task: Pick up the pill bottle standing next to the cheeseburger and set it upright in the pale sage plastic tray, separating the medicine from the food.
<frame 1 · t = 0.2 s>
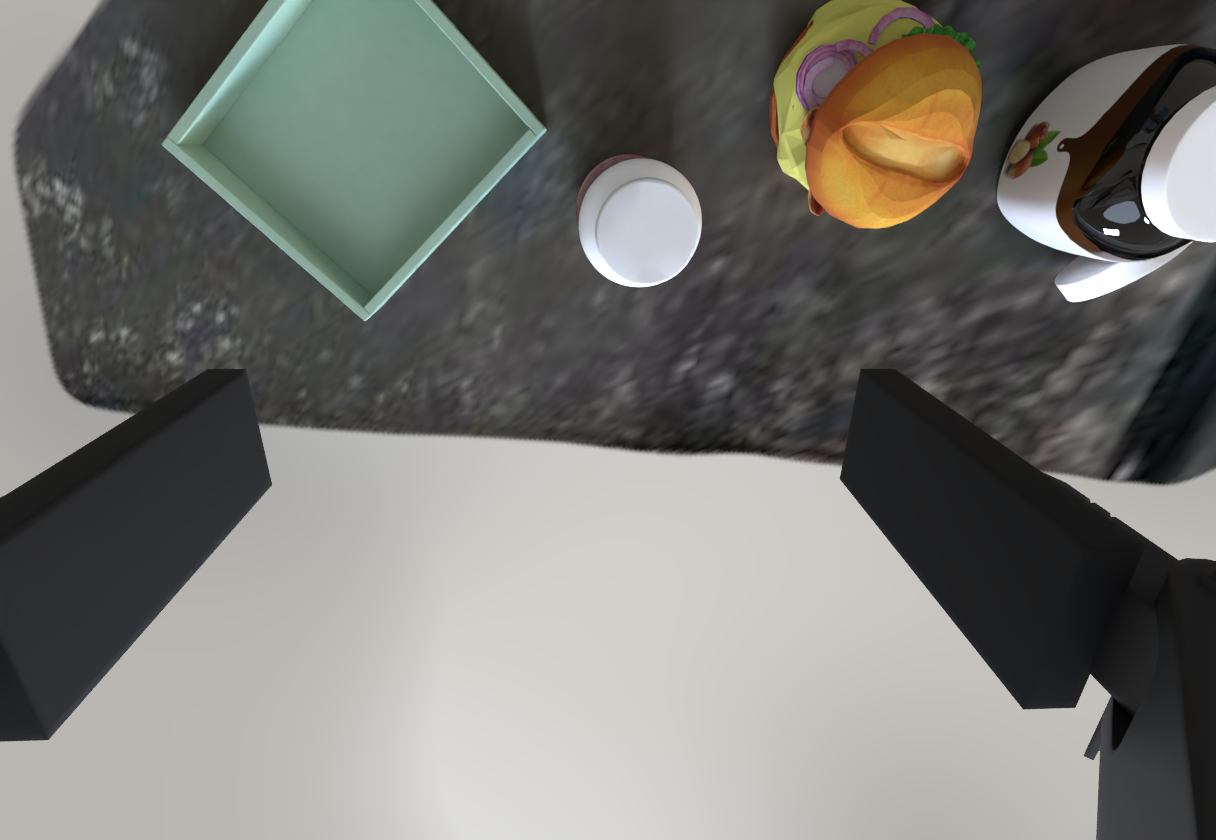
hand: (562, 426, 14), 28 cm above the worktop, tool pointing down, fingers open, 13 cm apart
cheeseburger: (845, 114, 37), on the worktop
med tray: (371, 136, 36), on the worktop
spread jar: (1066, 185, 39), on the worktop
pill bottle: (626, 208, 39), on the worktop
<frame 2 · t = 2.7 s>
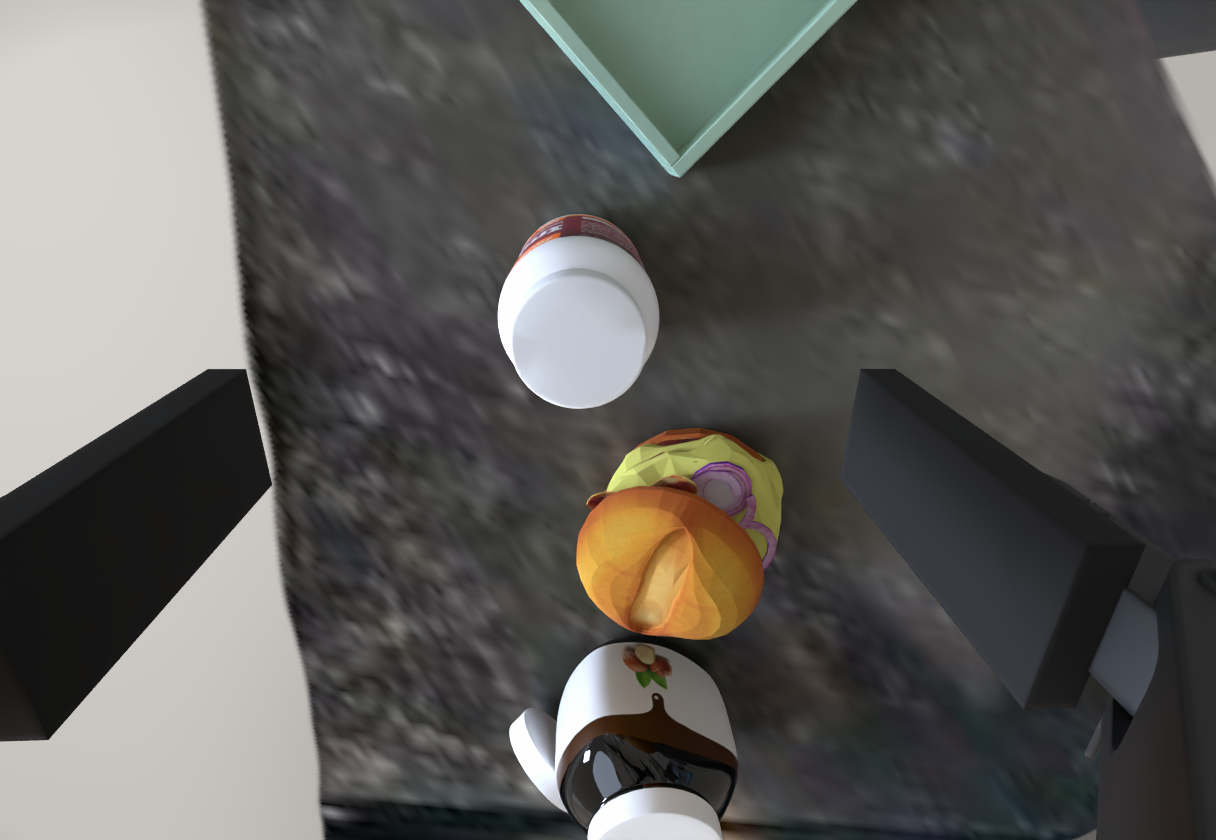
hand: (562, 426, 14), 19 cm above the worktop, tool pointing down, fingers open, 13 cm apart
cheeseburger: (677, 497, 37), on the worktop
spread jar: (611, 688, 42), on the worktop
pill bottle: (579, 277, 31), on the worktop
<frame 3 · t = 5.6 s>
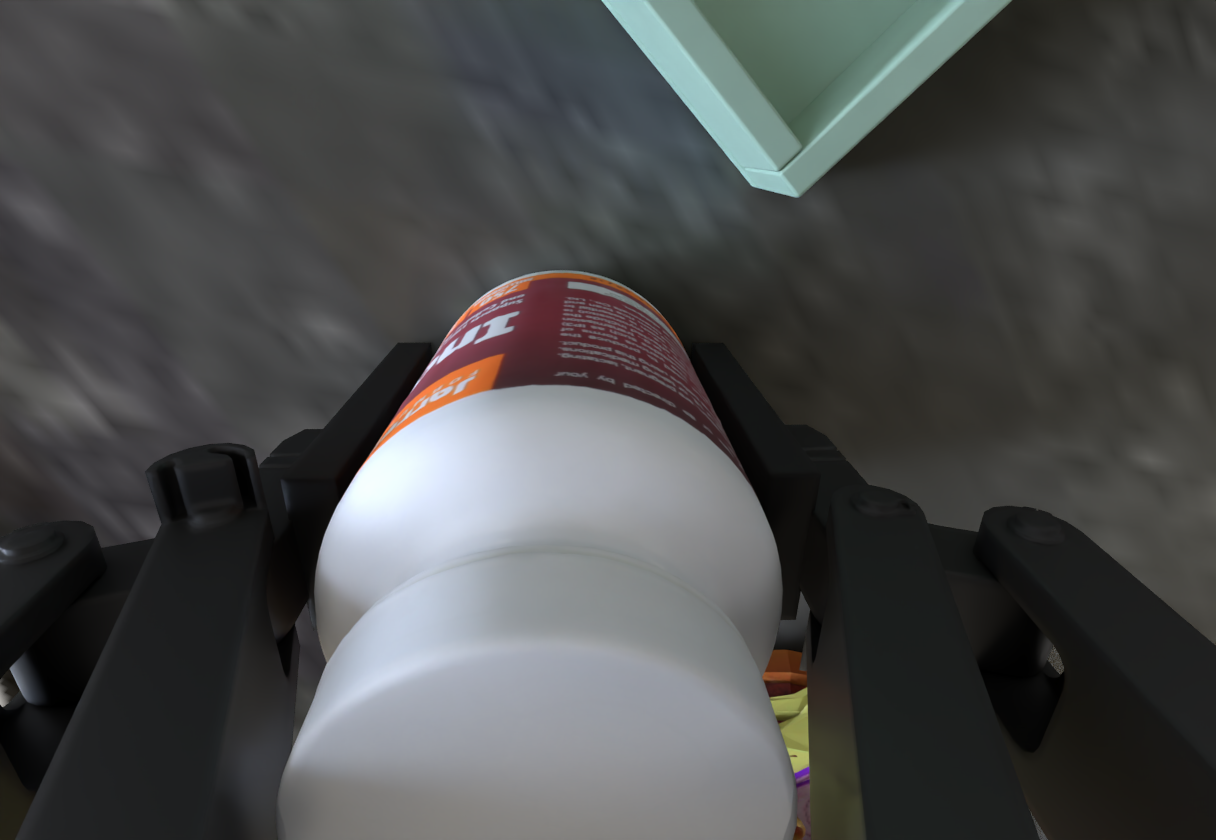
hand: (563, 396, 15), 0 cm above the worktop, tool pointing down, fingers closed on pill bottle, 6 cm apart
cheeseburger: (734, 740, 21), on the worktop
pill bottle: (563, 388, 16), on the worktop, touching gripper
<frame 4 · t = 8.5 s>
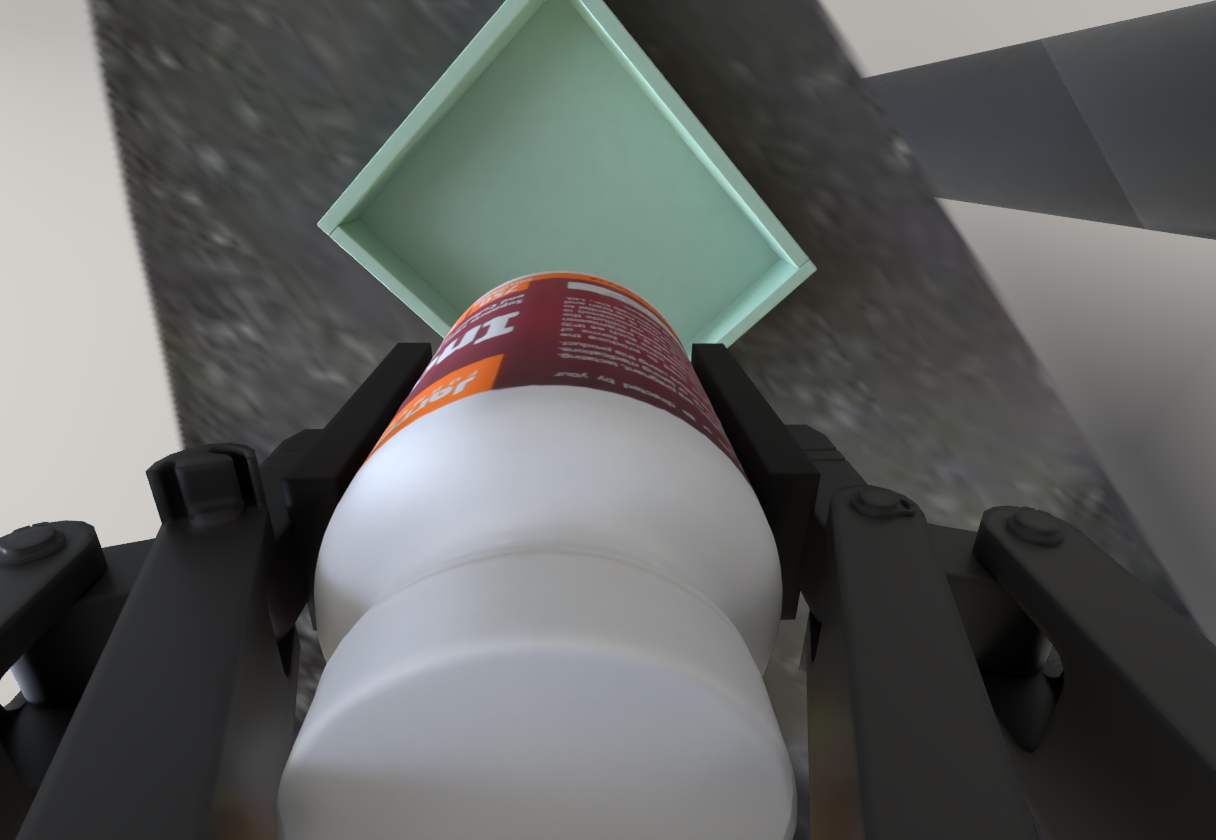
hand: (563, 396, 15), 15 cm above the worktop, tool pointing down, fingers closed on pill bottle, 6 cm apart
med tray: (575, 237, 28), on the worktop
pill bottle: (563, 388, 16), point 14 cm above the worktop, touching gripper
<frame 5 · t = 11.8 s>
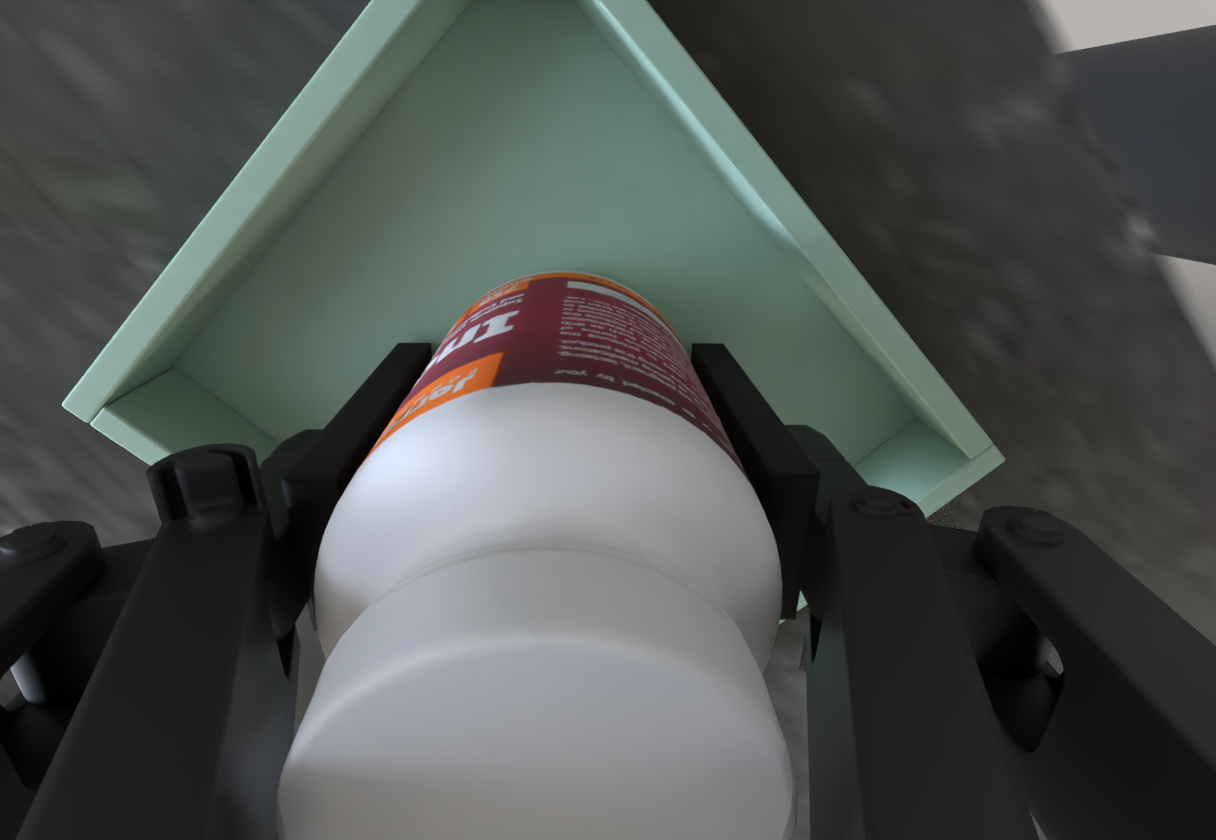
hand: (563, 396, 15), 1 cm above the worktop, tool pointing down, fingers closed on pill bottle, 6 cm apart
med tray: (564, 383, 16), on the worktop
pill bottle: (563, 388, 16), touching gripper
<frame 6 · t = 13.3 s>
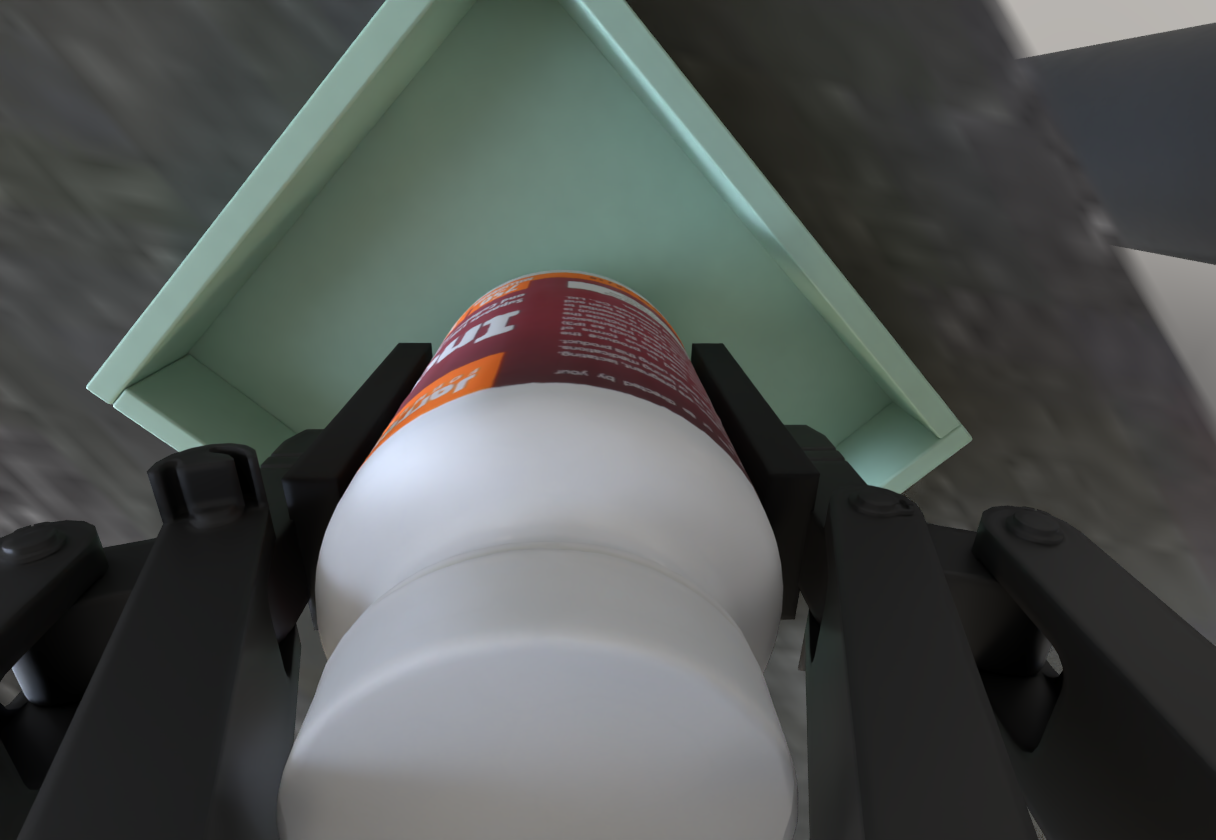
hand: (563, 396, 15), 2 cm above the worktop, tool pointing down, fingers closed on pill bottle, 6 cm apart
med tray: (558, 370, 17), on the worktop
pill bottle: (564, 388, 16), point 1 cm above the worktop, touching gripper
when the fingers open (2 cm above the worktop, at t = 17.5 s): pill bottle stays where it is, resting on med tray.
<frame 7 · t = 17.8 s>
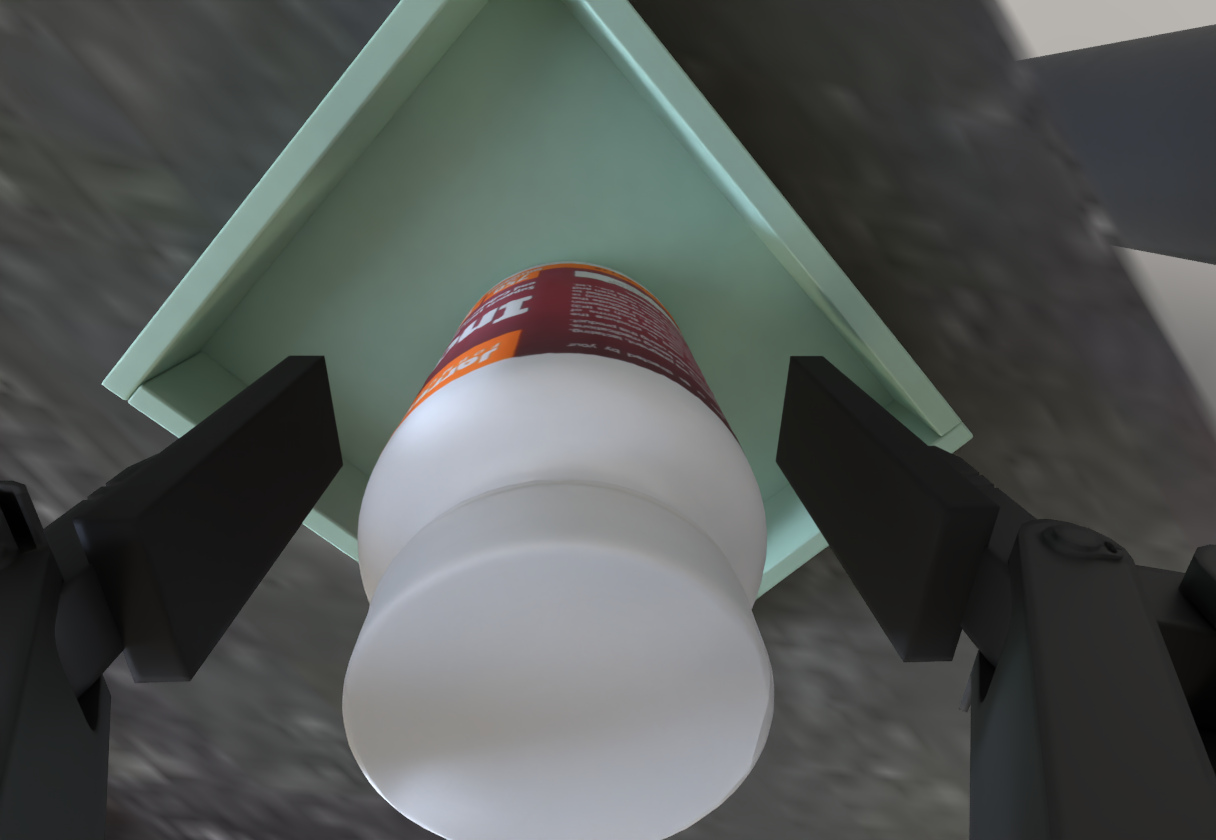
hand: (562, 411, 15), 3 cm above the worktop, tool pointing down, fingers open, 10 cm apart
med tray: (564, 368, 17), on the worktop
pill bottle: (569, 372, 17), resting on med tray
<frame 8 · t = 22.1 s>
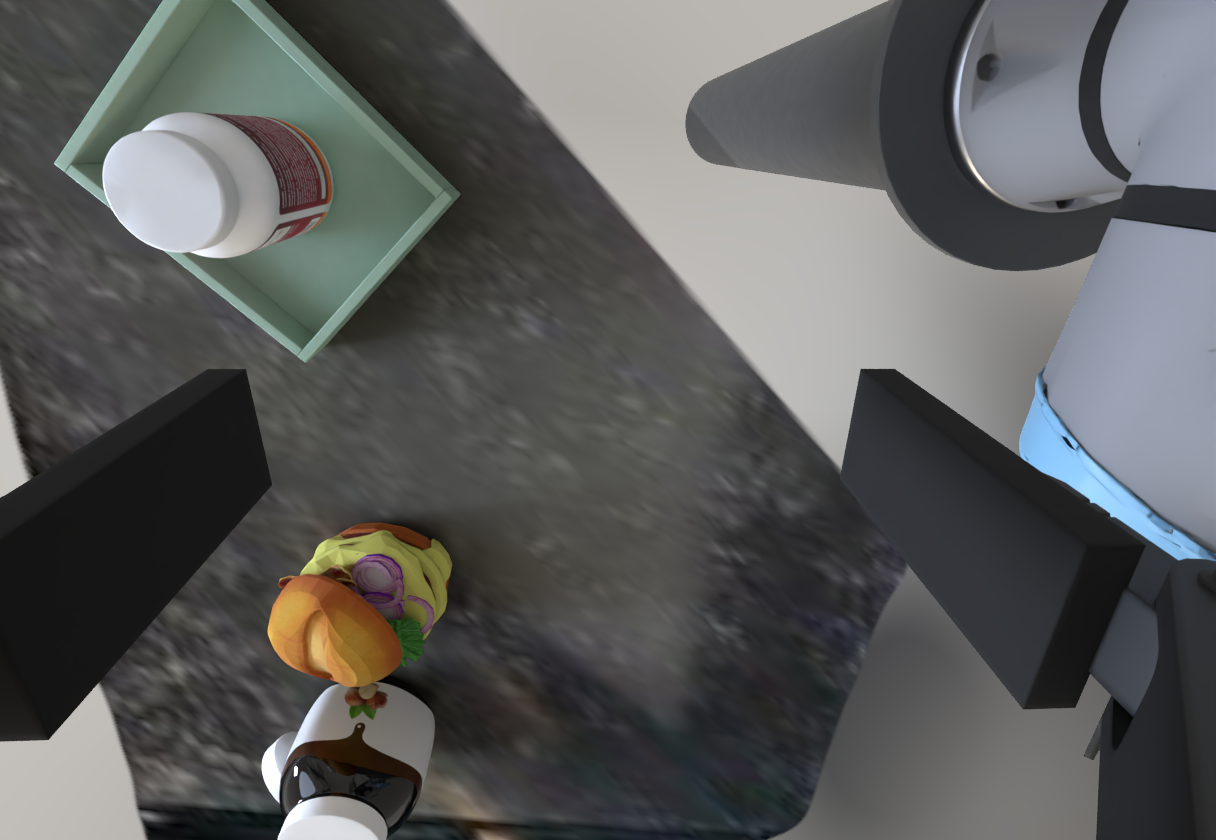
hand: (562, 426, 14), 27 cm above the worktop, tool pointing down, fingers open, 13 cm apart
cheeseburger: (382, 570, 47), on the worktop
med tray: (282, 178, 36), on the worktop
spread jar: (362, 715, 53), on the worktop
pill bottle: (282, 178, 35), resting on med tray
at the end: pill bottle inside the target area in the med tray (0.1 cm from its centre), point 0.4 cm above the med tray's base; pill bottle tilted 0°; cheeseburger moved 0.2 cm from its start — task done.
